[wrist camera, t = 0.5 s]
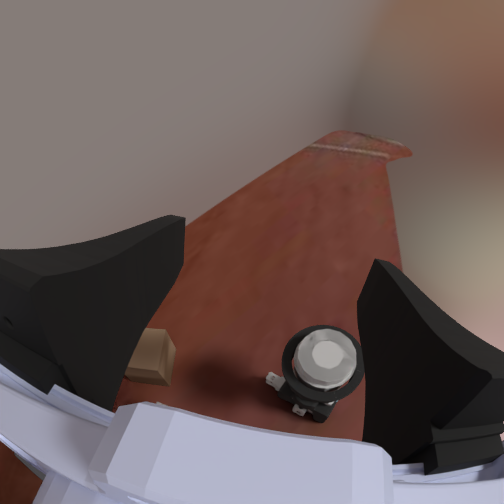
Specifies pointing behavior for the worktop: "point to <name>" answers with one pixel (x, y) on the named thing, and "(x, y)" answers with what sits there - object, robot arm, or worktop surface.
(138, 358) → the tan cube
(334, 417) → the worktop surface
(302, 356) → the push button
